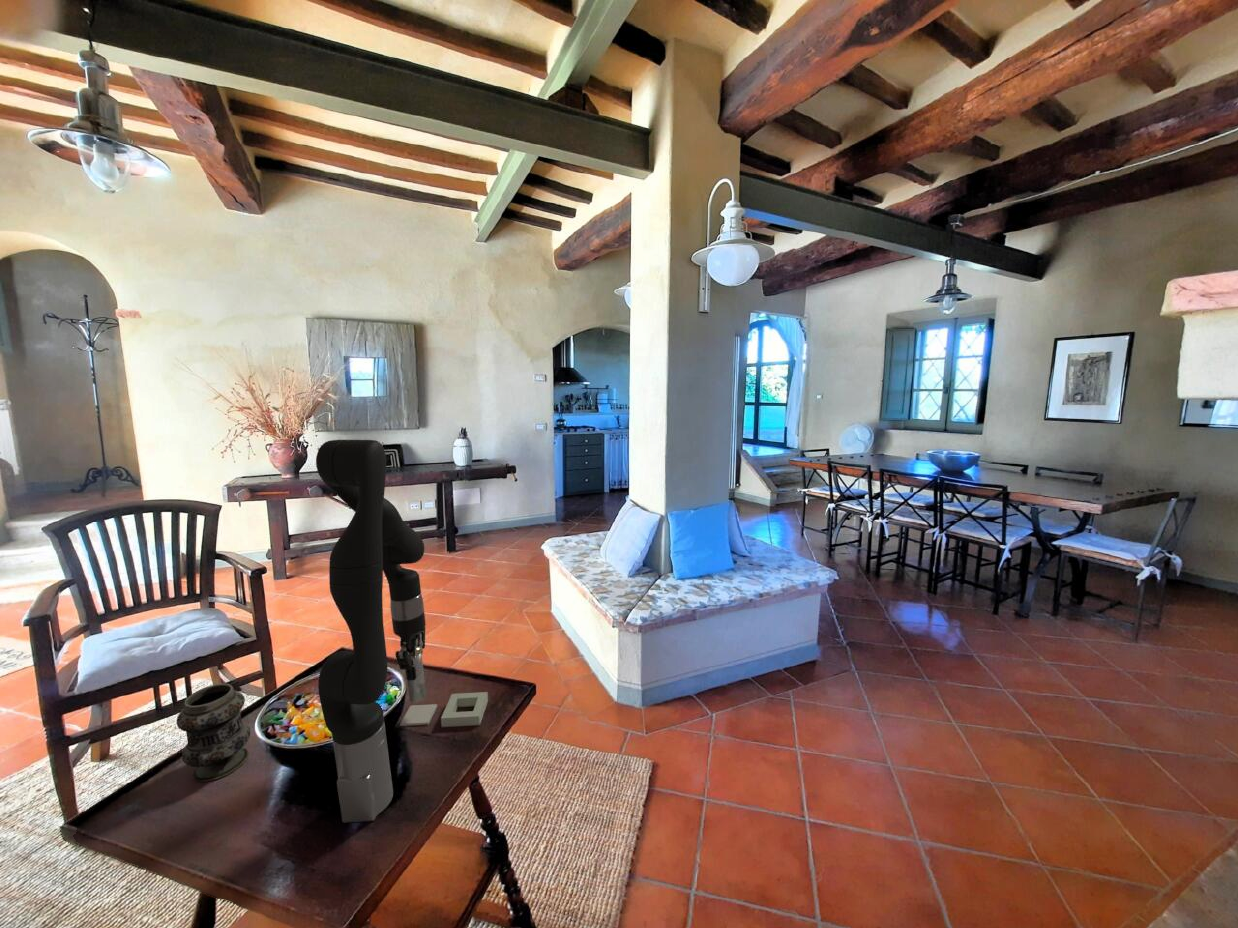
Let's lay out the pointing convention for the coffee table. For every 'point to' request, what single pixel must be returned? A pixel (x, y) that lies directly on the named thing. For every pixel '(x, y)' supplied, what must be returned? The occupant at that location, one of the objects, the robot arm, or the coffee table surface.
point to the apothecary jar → (214, 732)
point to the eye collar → (464, 718)
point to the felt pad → (418, 715)
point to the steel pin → (417, 680)
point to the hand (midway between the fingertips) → (415, 673)
